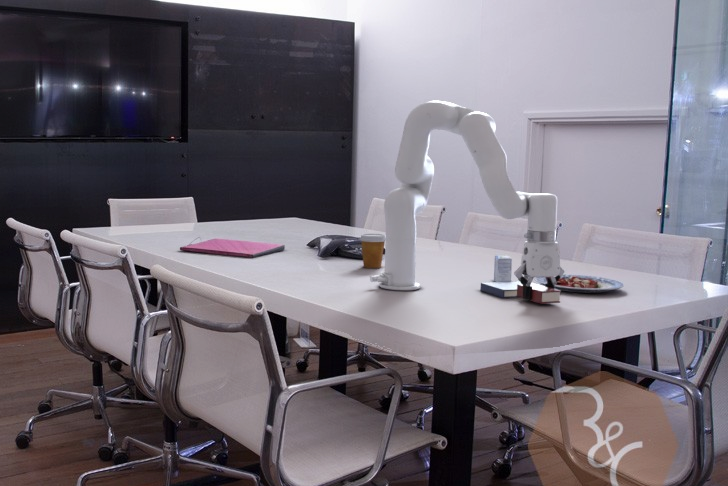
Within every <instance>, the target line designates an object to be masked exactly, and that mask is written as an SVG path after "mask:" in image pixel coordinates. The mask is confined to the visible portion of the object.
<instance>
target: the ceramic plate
mask: <svg viewBox="0 0 728 486" xmlns="http://www.w3.org/2000/svg"><path fill="white" fill-rule="evenodd" d="M534 281H535V282H536V283H538V284H540V285H545V284H547V281H546V278H545V277H537V278H534ZM624 286H625V284H624V283H623V282H621V281H618V280H615V279H611V278H606V277H601V276H592V275H584V274H583V275H581V274H563V275H562V276H561V277H560V279H559V280H558V281H557V284H556V285H554V289H557V290H561V291H563V292H568V293H569V292H570V293H571V292H572V293H579V294H598V293H606V292H608V291H611V290H618V289H619V290H620V289H622V288H623V287H624Z"/></svg>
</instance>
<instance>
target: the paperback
mask: <svg viewBox="0 0 728 486" xmlns="http://www.w3.org/2000/svg"><path fill="white" fill-rule="evenodd" d="M530 286H532V299H531V300H529V301H531V302H534V303H536V304H540V305H542V304H559V303H561V301H560V299H561V296H560V295H561V292H562V290H557V289H553V288H550V287H546V286H545V285H544V284H540V283H535V284H531V285H530ZM517 297H519V298H521V299H523V285H522V284H520V285H517Z"/></svg>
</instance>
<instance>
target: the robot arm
mask: <svg viewBox="0 0 728 486" xmlns="http://www.w3.org/2000/svg"><path fill="white" fill-rule="evenodd" d="M496 126H497V125H496V121H495V120H494V117H492V116H491V115H490V114H487V113H485V112H481V111H478V110H474V109H471V108H467V107H465V106H461V105H459V104H455V103H452V102H449V101H441V100H430V101H425V102H422V103H420V104H419V105H416V106H415V107H414V108H413V109H412V110H411V111H410V112H409V114H408V115H407V117H406V120H405V123H404V126H403V130H402V136H401V141H400V145H399V149H398V154H397V157H396V163H395V167H394V176H395V178H396V179H397V181H399V182H400V183H401V187H398V188H394V189H392V190H391V191H390V192H389V193H388V194H387V195H386V197H385V199H384V203H383V212H384V220H385V238H386V240H385V243H384V248H385V249H384V271H381V274H379V275H370V276H369V281H370V282H371V283H376V282H377V283H379V284H378V286H379V287H380V288H381V289H386V290H390V291H415V290H416V291H417V290H420V288H421V284H420V283H419V282H417V281H416V268H417V267H416V264H417V259H416V258H417V221H416V216H418V215H421V214H422V212H424V211H425V209H426V208H427V205H428V201H429V197H430V194H431V189H432V185H433V179H434V175H435V166H434V162H433V160H432V159H431V158H430V157H429V156H428V152H429V147H430V142H431V132H432V131H434V130H438V131H440V130H441V131H446V132H450V133H453V134H456V135H458V136H461V137H462V139H463V141H464V143H465V145H466V147H467V148H468V151H469V152H470V154H471V156H472V158H473V160H474V162H475V164H476V166H477V168H478V172H479V175H480V178H481V182H482V185H483V188H484V190H485V193H486V195H487V197H488V199H489V200H490V202H491V204H492V207H493V208H494V210H495V212H496V213H497V214H498V215H499V216H500V217H501V218H503V219H505V220H515V219H517V218H518V219H519V218H523V217H525V218H526V217H527V231H526V232H525V233H524V234H523V237H524V238H525V239H526V241H525V242H524V245H523V248H522V253H521V262H520V266H518V268H517V269H516V270H515V271H514V272H513V275H514V276H515V277H516V278H517V280H518V281H520V282H521V284H522V285H523V298H522V299H524V300H527V301H530V300H531V299H532V286H530V285H531V283H533V281H534V279H535V278H537V277H545V278H546V281H547V284H544V286H546V287H550V288H553V289H554V285H556V284H557V281H558V280H559V279H560V277H561V276H562V275H565V270H564V268H562V267H561V255H560V254H561V253H560V247H559V242H558V241H556V238H557V237H556V235H557V216H558V196H556V194H553V193H541V192H540V193H529V192H524V191H517V190H516V189H515V186H514V185H513V183H512V180H511V178H510V176H509V172H508V167H507V165H508V158H507V157H508V156H507V153H506V152H505V149H504V148H503V146H502V144H501V142H500V141H499V138H498V137H497V135H496V130H497V129H496V128H497V127H496Z"/></svg>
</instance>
